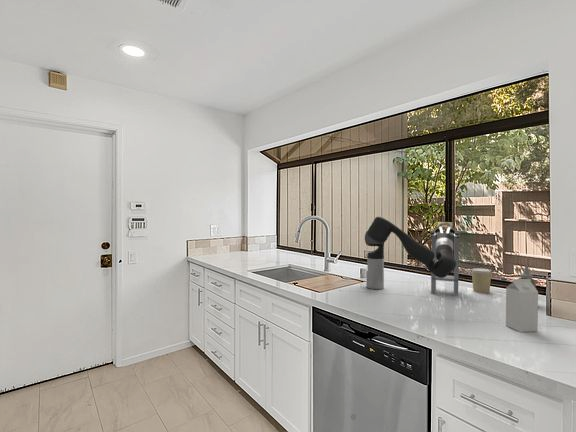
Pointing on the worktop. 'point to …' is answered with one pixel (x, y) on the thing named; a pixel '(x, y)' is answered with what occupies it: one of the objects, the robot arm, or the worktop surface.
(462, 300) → the worktop surface
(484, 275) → the coffee cup
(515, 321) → the milk carton
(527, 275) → the squeeze bottle
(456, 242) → the grey stand
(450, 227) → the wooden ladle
